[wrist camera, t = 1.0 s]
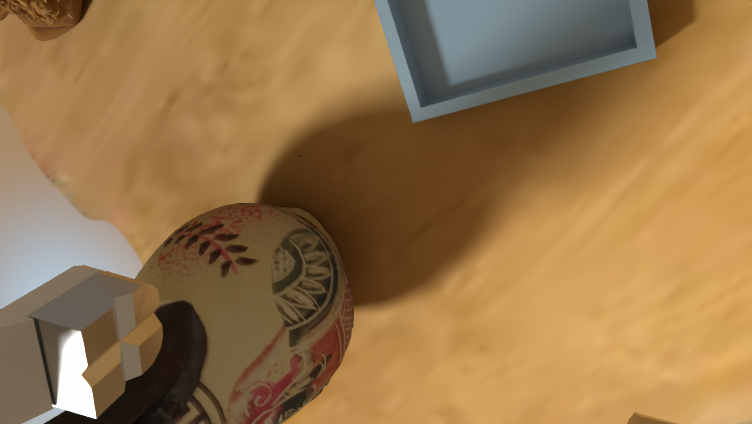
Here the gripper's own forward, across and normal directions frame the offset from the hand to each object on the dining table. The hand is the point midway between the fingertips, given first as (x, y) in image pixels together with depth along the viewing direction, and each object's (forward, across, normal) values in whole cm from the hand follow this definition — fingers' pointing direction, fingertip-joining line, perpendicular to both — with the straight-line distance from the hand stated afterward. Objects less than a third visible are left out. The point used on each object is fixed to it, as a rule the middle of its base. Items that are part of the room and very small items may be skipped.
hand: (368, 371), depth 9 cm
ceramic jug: (+30, +14, +16) cm, 37 cm away
